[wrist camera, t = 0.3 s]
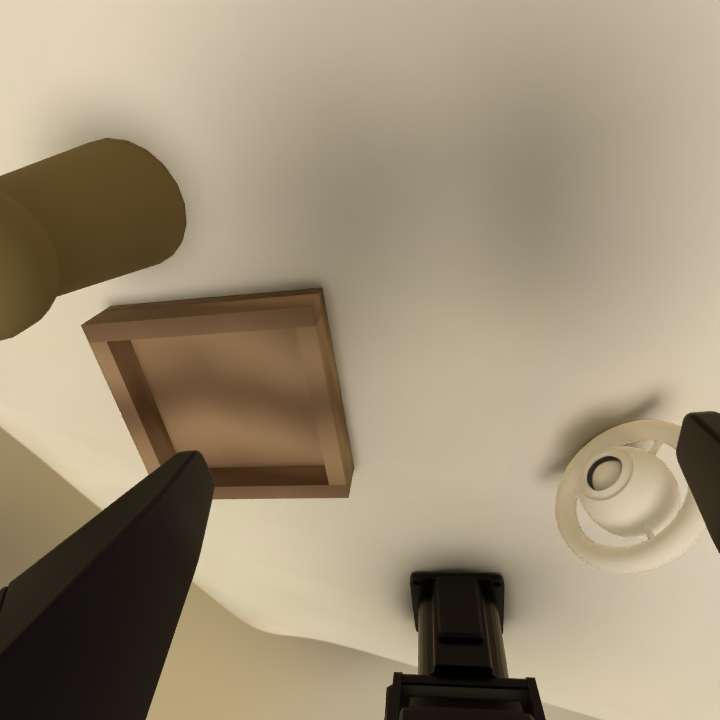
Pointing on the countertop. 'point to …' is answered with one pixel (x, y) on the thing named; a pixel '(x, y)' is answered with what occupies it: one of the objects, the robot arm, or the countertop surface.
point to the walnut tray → (232, 389)
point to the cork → (82, 225)
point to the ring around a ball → (628, 499)
